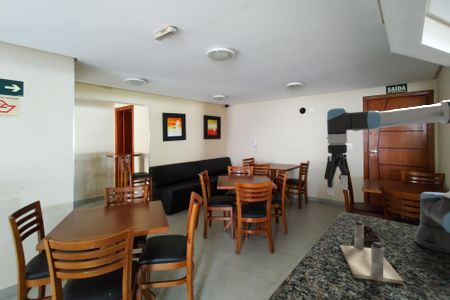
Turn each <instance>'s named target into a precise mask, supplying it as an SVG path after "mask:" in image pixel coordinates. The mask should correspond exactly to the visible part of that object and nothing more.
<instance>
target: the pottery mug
mask: <svg viewBox="0 0 450 300" xmlns="http://www.w3.org/2000/svg"><path fill="white" fill-rule="evenodd" d="M363 225H364V242H371V241H373V242H376V240H377V242H379V243H381V238H380V237H379V234H378V231H377V230H376V229H375V228H373V227H372V226H370V225H367V224H363Z"/></svg>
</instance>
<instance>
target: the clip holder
mask: <svg viewBox="0 0 450 300" xmlns="http://www.w3.org/2000/svg"><path fill="white" fill-rule="evenodd" d="M364 225H365V224H364V222H363V221H360V220H356V221H355V223H354V235H353V236H354V239H353V240H354V242H353V243H354V244H353V245H344V244H343V245H341V244H340V245H339V249H340V251H341V253H342V255H343V257H344V259H345V261H346V263H347V265H348V267H349V269H350V271H351V273H352V275H353V277H354V278H356V279H363V280H372V281H379V282H383V283H384V282H386V283H391V284H394V283H395V284H401V285H404V280H403V278H402V277H401V276H400V275H399V274H398V272H397V271H396V270H395V269H394V267H392V265H391V263H390V262H388V260H387V259H386V258H385V255H384V251H385V250H384V247H383V243H381V242H380V243H379V241H373V242H372V244H371V246H370V247H365V246H364V245H365V243H364V242H365V241H364Z"/></svg>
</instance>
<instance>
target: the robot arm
mask: <svg viewBox="0 0 450 300" xmlns="http://www.w3.org/2000/svg"><path fill="white" fill-rule="evenodd" d="M326 114H327V115H326V116H327V117H326V125H327V129H326V130H327V131H326V132H327V137H326V139H327V144H328V145H327V154H331V155H328V156H327V158H326V159H327V162H326V167H325V173H324V177H323V178H324V180H326V186H327V187H326V188H327V189H326V190H327V195H328V196H332V197H333V196H334V197H335V194H336V191H335V189H336V187H335V184H336V183H335V175H336V172H337V170H339V171H340V172H339V173H340V174H341V175H340V190H345V191H348V190H349V189H348V188H349V187H348V186H349V185H348V181H349V180H348V178H349V177H348V176H350V175H351V174H350V169H349V168H350V167H349V164H348V159H347V152H348V146H347V143H348V133H347V132H348V131H354V132H358V131H365V130H374V129H375V130H376V129H384V128H386V129H387V128H393V127H394V128H395V127H403V126H404V127H405V126H414V125H423V124H430V123H431V124H432V123H433V124H434V123H440V124H441V125H445V124H450V99H448V100H442V101H439V103H436V104H429V105H421V106H414V107H407V108H405V107H404V108H400V109H399V108H398V109H391V110H390V109H389V110H384V111H378V110H367V111H365V110H364V111H357V112H348V111H347V108H345V107H341V108H339V107H338V108H331V109H329V110H327V113H326ZM419 201H420V206H419V215H420V216H419V226H418V228H417V229H416V231H415V233H414V242H415V243H417V244H418V245H419V246H421V247H423V248H426V249H429V250H432V251H436V252H439V253H444V254H450V190H449V191H448V192H437V191H436V192H434V191H433V192H432V191H424V192H422V193H421V194H420V199H419Z"/></svg>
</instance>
